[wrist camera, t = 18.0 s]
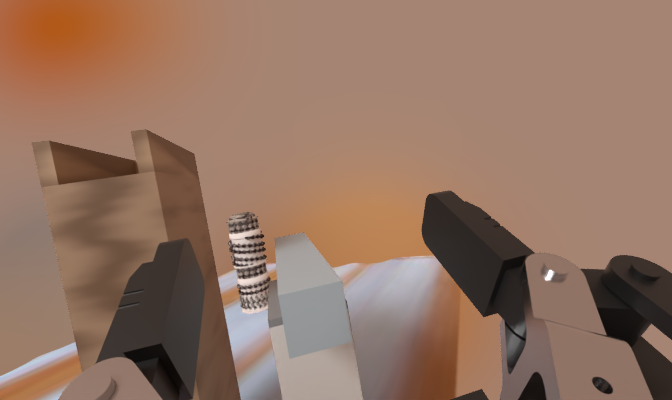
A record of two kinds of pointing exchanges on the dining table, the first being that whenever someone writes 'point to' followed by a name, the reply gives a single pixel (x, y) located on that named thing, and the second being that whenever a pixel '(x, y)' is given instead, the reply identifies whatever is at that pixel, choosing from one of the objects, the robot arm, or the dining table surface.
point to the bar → (309, 297)
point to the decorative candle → (249, 262)
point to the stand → (130, 240)
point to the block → (312, 364)
